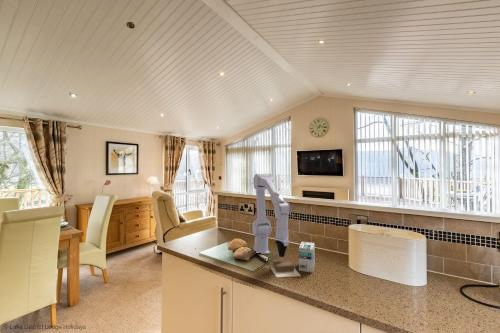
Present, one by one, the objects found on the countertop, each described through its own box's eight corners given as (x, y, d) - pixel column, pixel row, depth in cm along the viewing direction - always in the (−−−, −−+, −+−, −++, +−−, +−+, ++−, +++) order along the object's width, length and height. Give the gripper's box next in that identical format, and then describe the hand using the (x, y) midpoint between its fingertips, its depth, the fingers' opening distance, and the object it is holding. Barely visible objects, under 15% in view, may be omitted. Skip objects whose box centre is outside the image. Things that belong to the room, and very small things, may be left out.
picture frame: (273, 260, 115) (277, 266, 108) (289, 259, 117) (294, 265, 110) (273, 266, 115) (277, 272, 108) (288, 265, 117) (293, 271, 110)
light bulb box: (313, 273, 109) (313, 249, 109) (298, 270, 111) (298, 247, 111) (314, 264, 119) (315, 242, 119) (301, 262, 121) (301, 241, 121)
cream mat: (270, 268, 114) (270, 267, 114) (292, 266, 116) (292, 266, 116) (276, 277, 104) (276, 276, 104) (300, 276, 106) (300, 275, 106)
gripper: (270, 224, 122) (269, 251, 122) (278, 232, 108) (277, 262, 108) (283, 224, 123) (283, 250, 123) (293, 231, 109) (292, 261, 109)
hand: (281, 256), depth 115 cm, fingers closed
